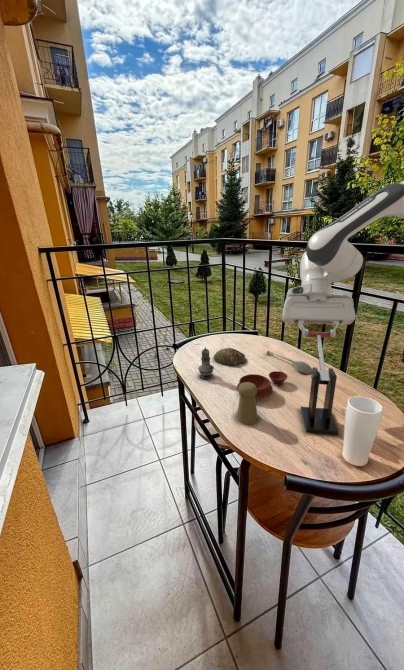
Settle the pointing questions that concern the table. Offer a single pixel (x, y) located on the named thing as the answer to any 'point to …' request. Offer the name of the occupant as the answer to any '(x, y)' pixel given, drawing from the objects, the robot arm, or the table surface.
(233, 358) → the brown rounded lump
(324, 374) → the lever
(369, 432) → the drinking glass
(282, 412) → the table surface
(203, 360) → the grey tall knobbed piece
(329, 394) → the bracket
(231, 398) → the table surface
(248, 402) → the olive pawn figure
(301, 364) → the soupspoon
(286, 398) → the table surface
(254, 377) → the pottery
